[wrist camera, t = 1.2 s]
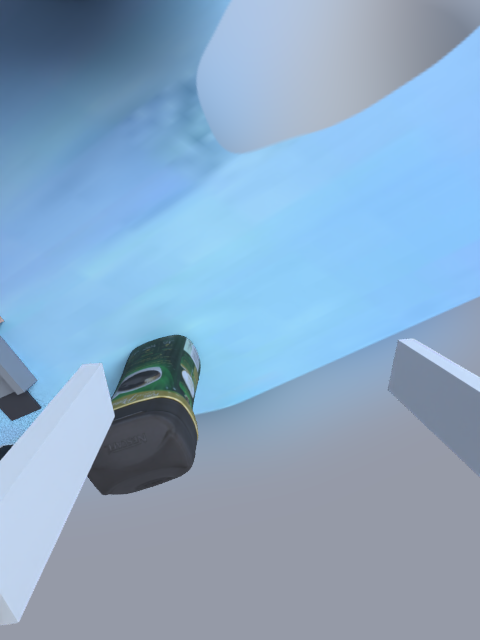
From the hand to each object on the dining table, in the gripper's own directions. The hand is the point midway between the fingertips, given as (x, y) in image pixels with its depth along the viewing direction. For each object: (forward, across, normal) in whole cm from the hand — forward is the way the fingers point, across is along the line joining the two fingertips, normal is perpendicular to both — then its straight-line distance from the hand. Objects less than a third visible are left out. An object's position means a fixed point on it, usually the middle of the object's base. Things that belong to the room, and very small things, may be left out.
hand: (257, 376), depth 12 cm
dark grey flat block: (+25, -31, -17) cm, 43 cm away
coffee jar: (+25, -9, -12) cm, 30 cm away
